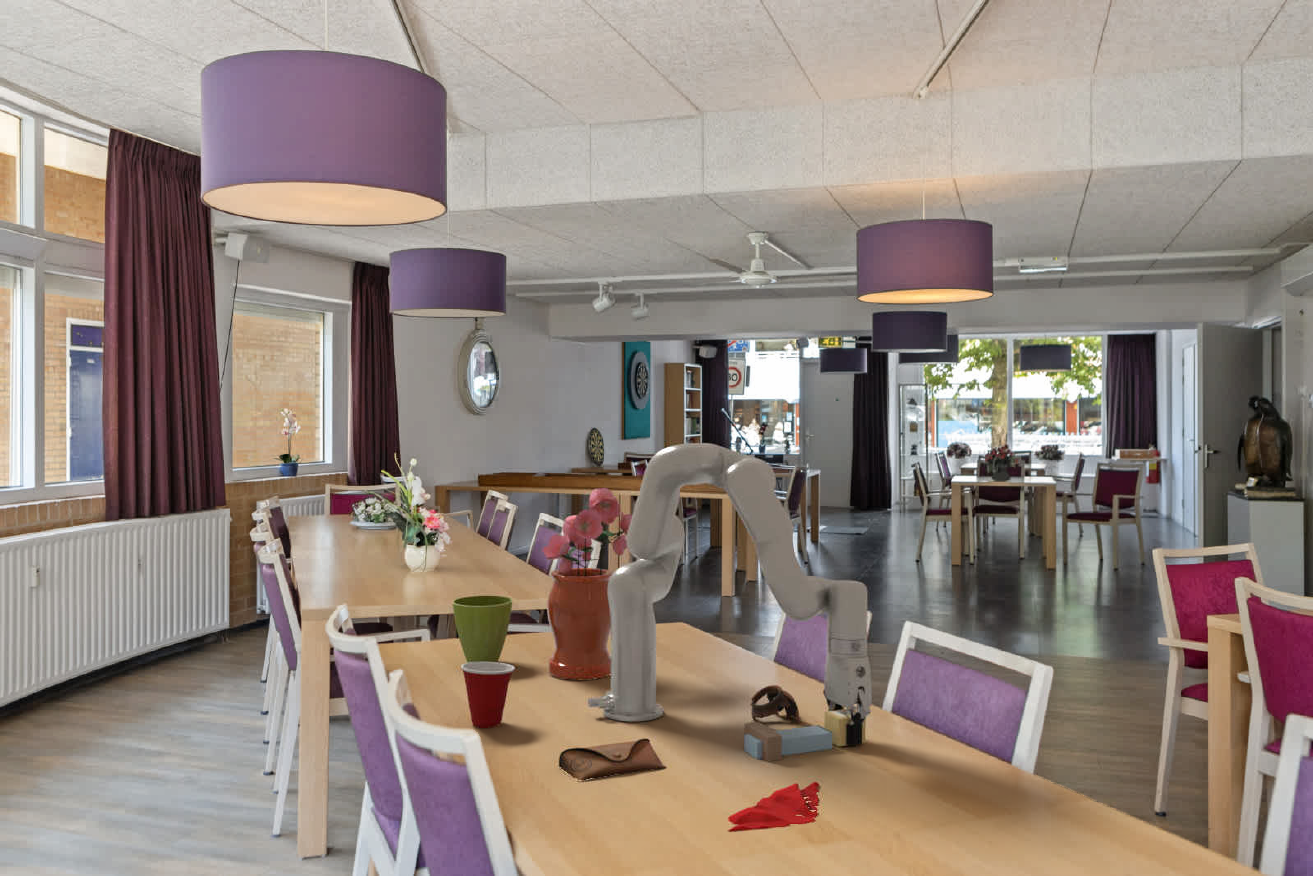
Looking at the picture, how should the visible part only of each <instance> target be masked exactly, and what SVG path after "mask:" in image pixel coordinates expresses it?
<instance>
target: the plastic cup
mask: <svg viewBox="0 0 1313 876" xmlns="http://www.w3.org/2000/svg"><path fill="white" fill-rule="evenodd" d="M460 668H461V670H462V673H463V678H464V683H465V686H466V687H465V689H466V694H467V695H466V696H467V701H468V702H467V703H468V709H469V710H470V711H469V712H470V713H469V714H470V718H471V719H470V720H471V723H472V726H473V727H475V728H480V729H491V728H496V727H497V725H498V726H500V725H501V724H502V720H503V714H504V708H505V705H506V700H507V694H508V688H509V684H510V680H511V677H512V674H513V672H514V671H515V669H516V668H515V666H514V665H512V664H509V663H504V662H498V663H497V662H470V663H467V662H466V663H463V664H461V665H460ZM500 723H501V724H500ZM499 724H500V725H499ZM495 726H496V727H495ZM490 727H491V728H490Z"/></svg>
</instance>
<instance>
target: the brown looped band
mask: <svg viewBox="0 0 1313 876" xmlns="http://www.w3.org/2000/svg"><path fill="white" fill-rule="evenodd" d="M765 696H766V698H767V701H768V702H767V703H765V704H757V702H759V701H760V700H761V698H762V699H763V697H765ZM750 700H751V703H750V706H751V718H752V720H753V721H754V720H755V721H756V720H757V718H758V719H763V718H768V717H770V716H777V717H779V716H780V714H779V713H780V712H782V711H783V710H784V711H785V714H786V715H785V716H786V718H788V717H792V718H793V717H794V718H796V723H797V724H798V723H799V724H801V718H800V711H799V708H798V704H797V702H796V700H795V699H794V697H793V696H792V695H791V694H790V693H789V692H788V691H786V690H784V689H782V687H781V686H780V685H777V684H771V685H767V686H764V687H762V688H760V690H758V691H756V692H755V693H754V695H753V696H752V697H751V699H750Z"/></svg>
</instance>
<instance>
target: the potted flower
mask: <svg viewBox="0 0 1313 876" xmlns="http://www.w3.org/2000/svg"><path fill="white" fill-rule="evenodd" d="M588 500H589V501H588V507H589V509H584V510H581V511H579V512H578V514H574V515H573V514H572V515H570V516H569V515H568V516H567V517H566V518H565V519H564V523H563V525H562V533H563V535H562V534H553V535H551V536H550V538H549V540H548V541H549V543H548V545H546V546H544V547H543V549H542V551H543V552H542V553H543V555H544V556H546V560H558V559H561V561H560V563H559V566H558V569H555V570H552V571H551V572H550V576H551V578H552V579H553V583H552V586H551V588H550V591H549V592H548V593H549V594H548V598H547V604H546V605H547V606H546V607H547V620H548V622H549V623H548V624H549V626H550V627H549V628H550V629H551V632H552V633H551V634H552V636H553V641H554V650H553V653H552V656H551V657H549V659H548V674H549V675H550V674H551V675H552V676H551V675H550V676H551V677H553V676H554V677H553V678H557V679H560V678H565V679H564V680H566V679H576V680H575V681H579V680H578V679H594V678H600V679H603V678H602V677H604V678H606V677H605V676H607V675H609V674H611V654H610V652H609V650H608V641H609V636H610V635H611V617H610V608H609V602H608V594H607V588H608V583H609V580H610V578H611V576H612V574H613V572H612V571H611V570H609V569H603V568H602V567H603V564H602V563H603V562H602V561H603V560H602V559H603V558H602V556H603V553H602V549H603V548H602V547H604V546H605V545H606V544H611V545H612V550H613V551H614V553H615V554H616V555H618V556H623V555H624V553H625V552H624V551H625V550H626V549H628V547H627V543H626V536H627V532H628V529H629V525H630V522H631V519H632V515H633V514H629V513H628V514H624V511H621V507H620V504H619V500H618V499H617V497H616V496H614V494H613V491H612V490H610V489H609V488H606V487H601V488H594V489H593V490H592V491H591V493H590V494H589V499H588ZM618 517H620V522H619V528H620V529H619V531H617V532H615V533H613V532H612V531H608V530H603V529H604V527H603V525H602V524H603V523H604V524H605V525H609V524H610V525H611V524H612V523H614V522H615V520H616V519H617V518H618ZM608 537H609V538H608ZM612 537H613V538H612ZM605 538H608V540H607V541H606V542H605V543H602V540H603V539H605ZM597 539H598V540H599V539H600V553H599V554H600V556H599V557H600V558H596V559H595V558H593V559H592V554H593V553H592V551H593V550H594V548H593V547H591V546H592V545H593V541H592V540H597ZM612 540H613V541H612ZM570 542H571V543H574V546H575V547H572V548H571V549H570V547H571V546H570ZM577 549H578V550H577ZM574 551H578V554H576V553H574ZM580 551H581V552H580ZM582 552H583V553H582ZM573 555H575V556H577V558H576V557H573ZM580 558H582V560H580ZM599 559H600V562H599V564H600V566H599V567H600V568H594V567H587V563H588V562H590V561H597V560H599ZM581 562H584V565H583V564H581ZM574 565H577V567H573V566H574ZM580 566H581V567H580ZM607 677H608V676H607ZM594 680H595V679H594Z"/></svg>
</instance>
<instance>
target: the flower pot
mask: <svg viewBox="0 0 1313 876" xmlns="http://www.w3.org/2000/svg"><path fill="white" fill-rule="evenodd" d="M512 607H513V598H510V597H507V596H502V595H473V596H472V595H471V596H463V597H459V598H456V599H454V600H453V601H452V609H453V615H454V616H453V617H454V621H455V627H456V631H457V635H458V639H459V642H460V646H461V649H462V652H463V655H464V657H465V660H466V663H470V662H497V663H499V660H500V657H501V655H502V652H503V649H504V645H505V642H506V638H507V635H508V630H509V625H510V620H511V614H512Z"/></svg>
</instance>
